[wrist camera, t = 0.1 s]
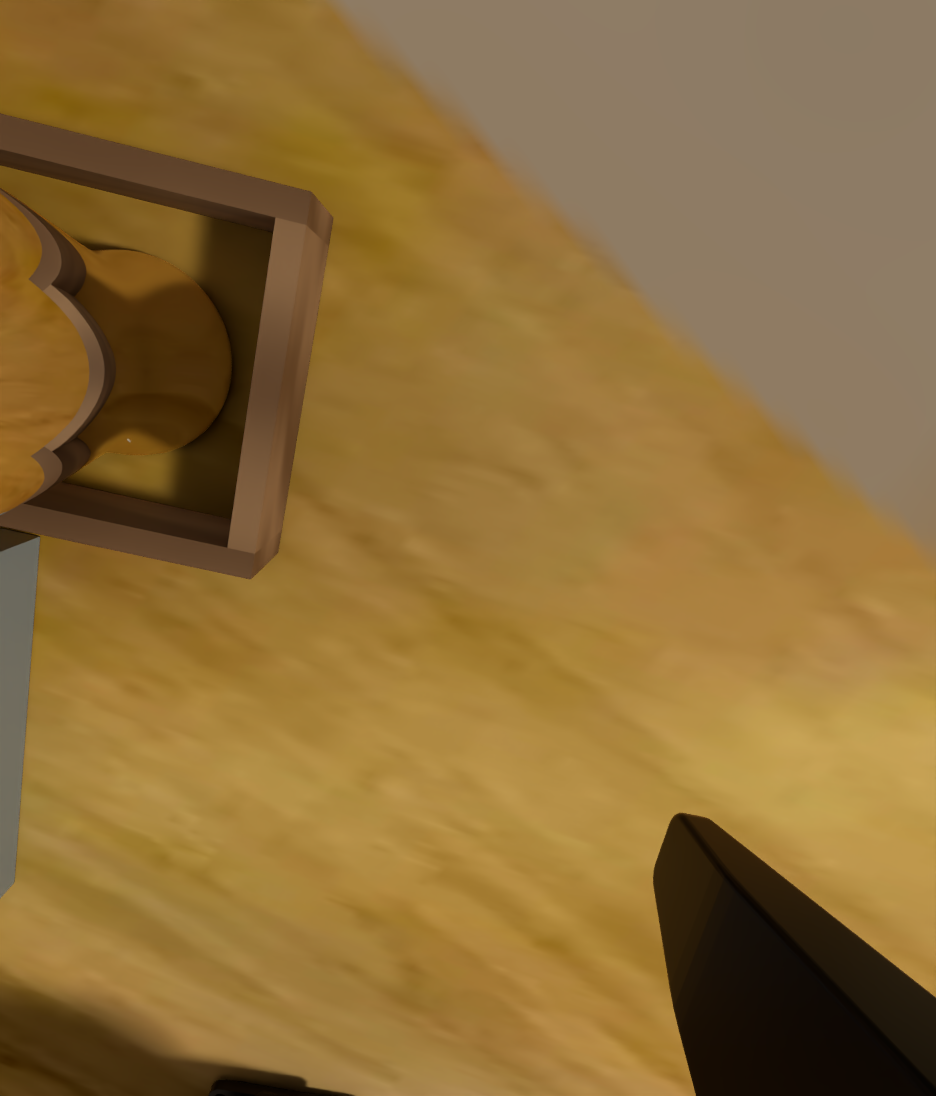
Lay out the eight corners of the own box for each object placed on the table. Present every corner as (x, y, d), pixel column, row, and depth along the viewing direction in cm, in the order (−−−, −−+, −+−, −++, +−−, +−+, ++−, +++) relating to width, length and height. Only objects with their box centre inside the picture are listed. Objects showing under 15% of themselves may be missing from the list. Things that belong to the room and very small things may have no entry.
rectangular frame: (277, 553, 23) (250, 579, 20) (-45, 483, 22) (-122, 499, 19) (333, 217, 20) (311, 191, 17) (-31, 127, 19) (-117, 84, 17)
